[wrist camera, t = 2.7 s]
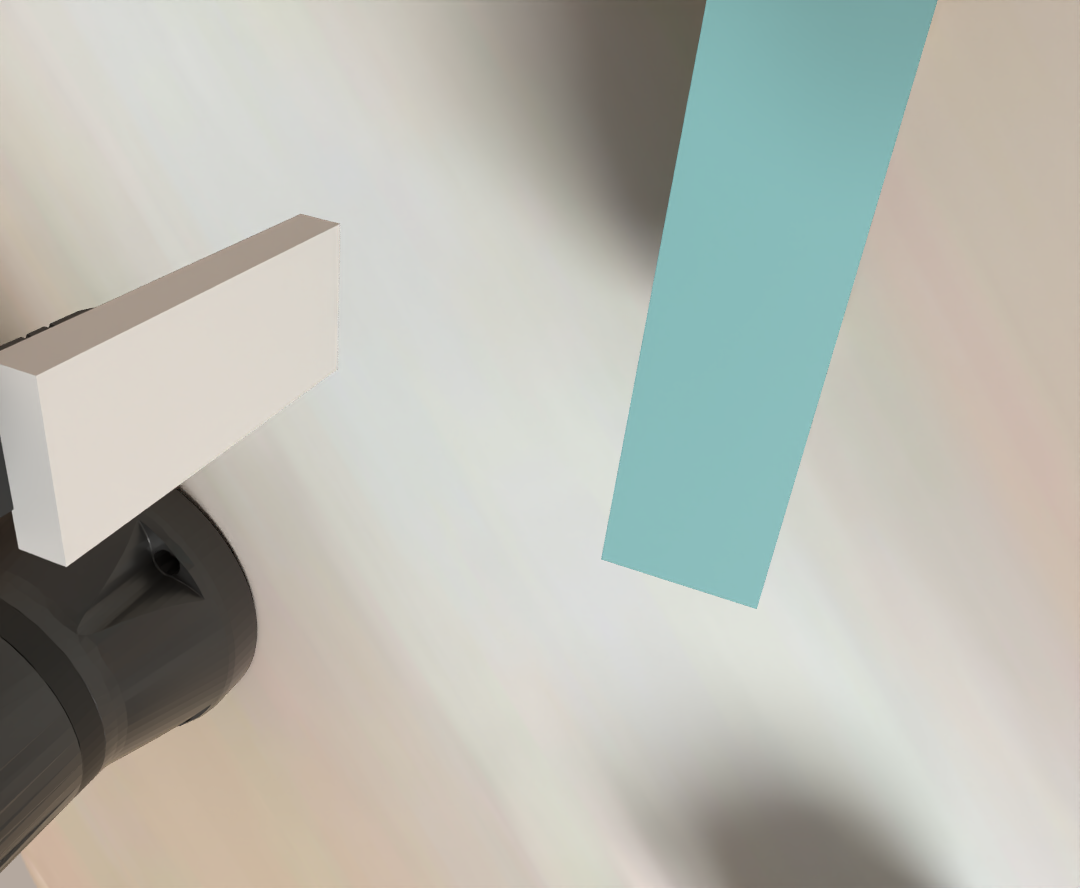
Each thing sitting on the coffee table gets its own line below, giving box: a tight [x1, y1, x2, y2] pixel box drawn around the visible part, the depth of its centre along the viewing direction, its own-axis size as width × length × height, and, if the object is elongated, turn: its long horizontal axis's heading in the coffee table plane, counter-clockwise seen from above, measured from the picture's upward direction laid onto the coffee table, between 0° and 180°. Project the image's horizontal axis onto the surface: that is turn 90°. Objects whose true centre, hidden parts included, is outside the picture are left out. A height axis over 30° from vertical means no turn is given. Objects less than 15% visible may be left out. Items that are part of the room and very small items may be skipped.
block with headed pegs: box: [601, 0, 937, 609], centre depth 25 cm, size 4×16×12 cm, turn 172°
